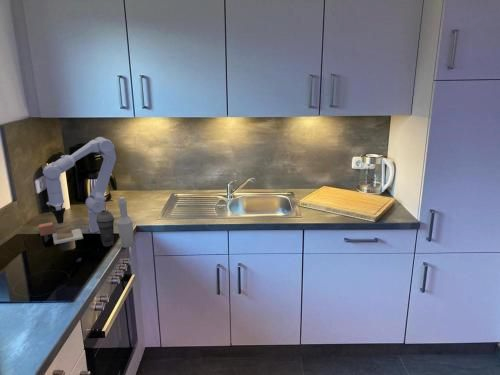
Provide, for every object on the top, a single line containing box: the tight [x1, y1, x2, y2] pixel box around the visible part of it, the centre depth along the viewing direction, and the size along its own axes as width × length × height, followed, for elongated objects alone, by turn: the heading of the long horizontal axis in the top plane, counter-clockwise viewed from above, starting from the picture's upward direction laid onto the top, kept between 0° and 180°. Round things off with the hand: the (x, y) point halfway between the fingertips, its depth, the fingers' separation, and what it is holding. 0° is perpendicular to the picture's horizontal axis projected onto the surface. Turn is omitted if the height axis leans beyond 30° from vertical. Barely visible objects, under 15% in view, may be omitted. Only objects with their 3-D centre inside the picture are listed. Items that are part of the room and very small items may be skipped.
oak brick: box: [55, 224, 72, 239], centre depth 186 cm, size 4×6×4 cm, turn 119°
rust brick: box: [38, 221, 55, 237], centre depth 193 cm, size 4×6×4 cm, turn 119°
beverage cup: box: [96, 200, 115, 247], centre depth 176 cm, size 7×7×20 cm
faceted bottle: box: [116, 196, 134, 249], centre depth 174 cm, size 6×6×22 cm
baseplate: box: [51, 228, 84, 245], centre depth 188 cm, size 12×11×1 cm
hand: (59, 220), depth 185 cm, fingers open, 7 cm apart
